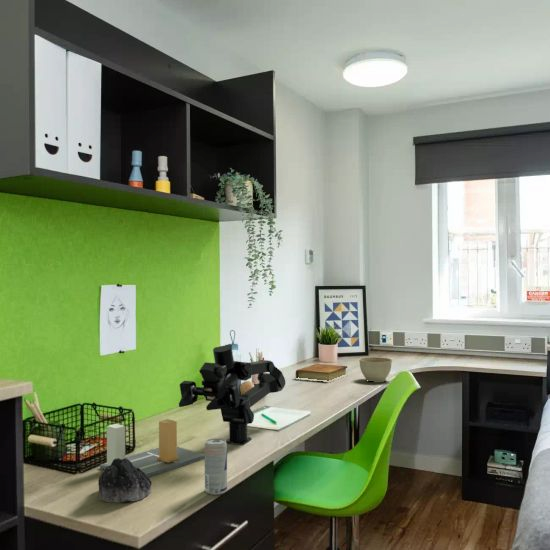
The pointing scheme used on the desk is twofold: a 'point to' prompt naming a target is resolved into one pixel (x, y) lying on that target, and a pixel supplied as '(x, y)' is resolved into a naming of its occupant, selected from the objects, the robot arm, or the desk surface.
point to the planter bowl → (375, 368)
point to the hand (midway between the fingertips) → (193, 406)
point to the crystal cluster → (123, 482)
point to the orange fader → (167, 441)
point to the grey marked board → (153, 466)
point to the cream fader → (115, 443)
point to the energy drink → (215, 466)
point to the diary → (321, 372)
